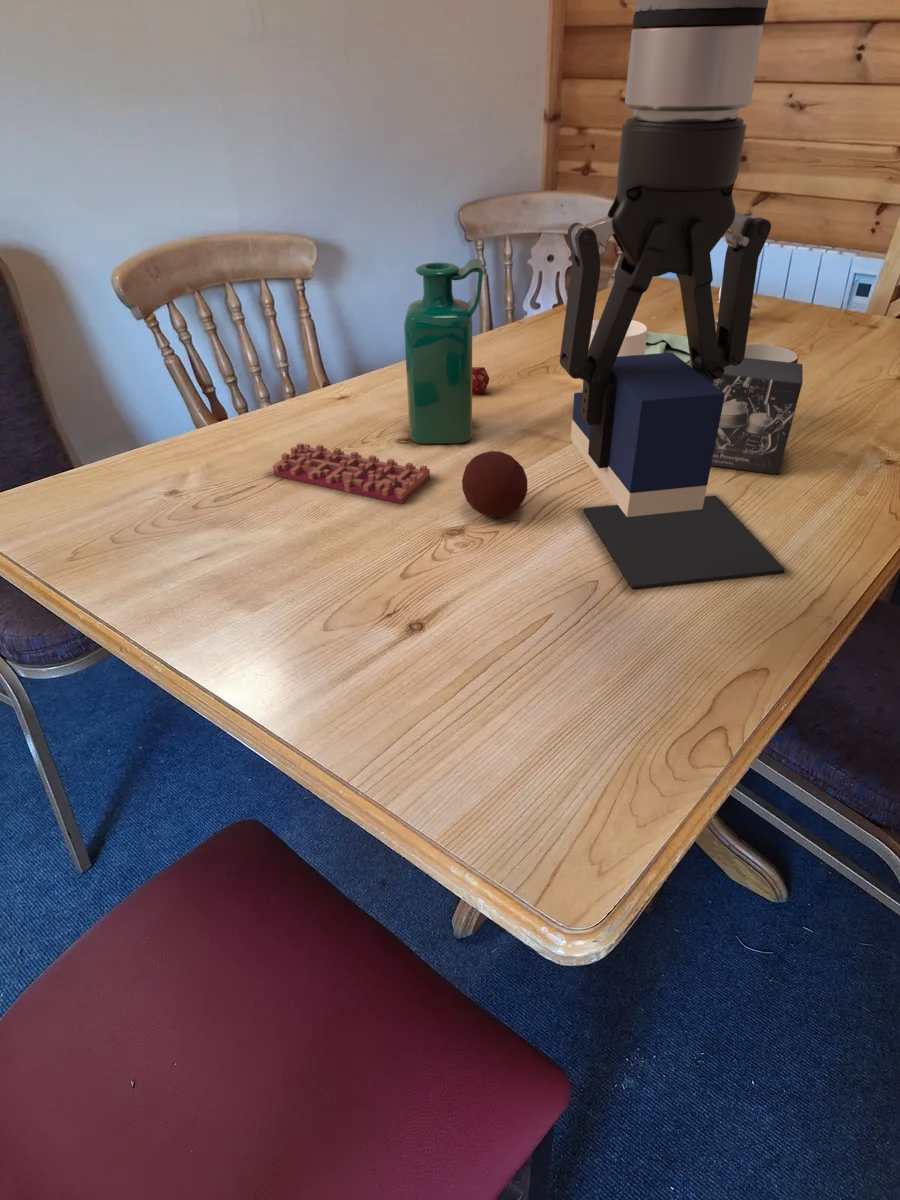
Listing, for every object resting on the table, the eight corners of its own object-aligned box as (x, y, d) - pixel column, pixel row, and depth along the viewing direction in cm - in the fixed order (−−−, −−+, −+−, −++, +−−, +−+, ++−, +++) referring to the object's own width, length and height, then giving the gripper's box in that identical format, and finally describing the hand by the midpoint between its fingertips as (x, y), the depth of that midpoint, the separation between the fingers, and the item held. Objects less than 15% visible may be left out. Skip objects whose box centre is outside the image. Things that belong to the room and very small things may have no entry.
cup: (650, 411, 112) (661, 327, 105) (608, 428, 108) (618, 341, 101) (602, 394, 118) (610, 313, 111) (561, 410, 113) (567, 326, 106)
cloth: (723, 349, 134) (726, 335, 133) (647, 381, 123) (649, 365, 121) (628, 325, 147) (629, 311, 145) (550, 351, 135) (551, 337, 134)
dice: (488, 387, 121) (488, 362, 119) (489, 397, 118) (489, 372, 115) (464, 387, 122) (464, 362, 119) (464, 398, 118) (464, 372, 116)
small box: (670, 462, 99) (684, 369, 92) (676, 440, 104) (690, 351, 97) (779, 476, 95) (803, 380, 88) (780, 453, 100) (803, 361, 93)
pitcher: (409, 445, 104) (400, 272, 91) (412, 420, 111) (404, 256, 98) (482, 444, 104) (483, 271, 91) (480, 420, 111) (481, 255, 98)
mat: (784, 572, 78) (785, 569, 78) (631, 589, 76) (632, 586, 76) (715, 498, 91) (715, 495, 91) (583, 511, 89) (583, 508, 89)
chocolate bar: (302, 452, 103) (301, 438, 102) (430, 478, 96) (429, 464, 95) (270, 474, 98) (267, 460, 97) (402, 504, 91) (401, 489, 90)
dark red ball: (465, 529, 86) (465, 471, 82) (459, 496, 92) (458, 441, 88) (531, 525, 86) (534, 468, 82) (520, 493, 93) (523, 438, 89)
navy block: (702, 509, 58) (725, 393, 53) (626, 517, 57) (642, 400, 52) (634, 434, 70) (648, 333, 64) (570, 440, 69) (578, 338, 63)
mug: (767, 449, 101) (785, 374, 96) (706, 436, 105) (720, 363, 99) (787, 421, 109) (805, 350, 103) (729, 410, 112) (743, 340, 106)
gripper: (794, 105, 52) (728, 427, 66) (521, 115, 50) (510, 447, 63) (860, 113, 46) (773, 465, 60) (553, 124, 44) (534, 489, 57)
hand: (638, 456), depth 62 cm, fingers closed on navy block, 6 cm apart
